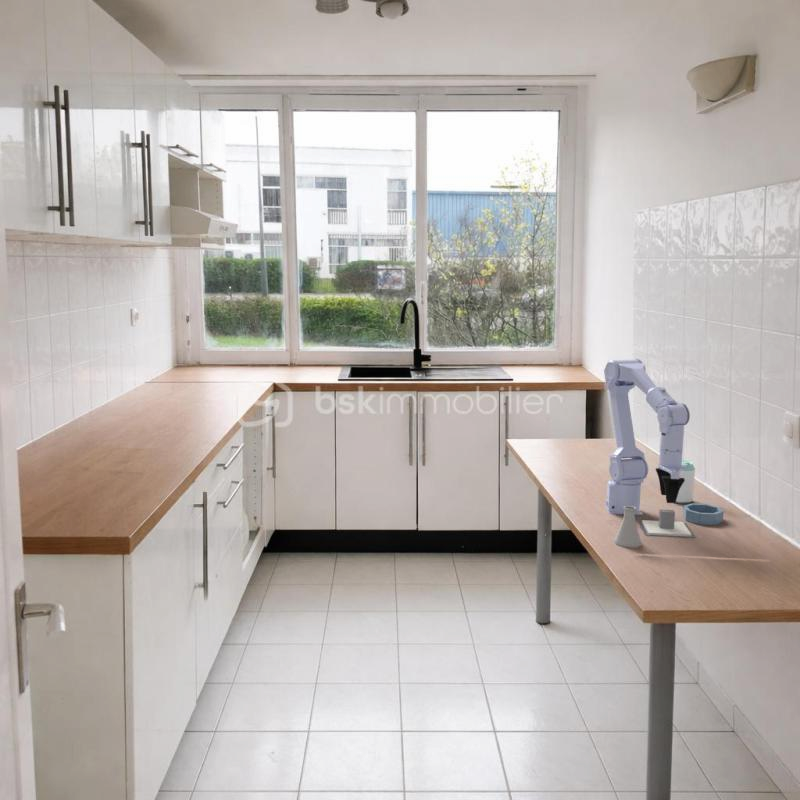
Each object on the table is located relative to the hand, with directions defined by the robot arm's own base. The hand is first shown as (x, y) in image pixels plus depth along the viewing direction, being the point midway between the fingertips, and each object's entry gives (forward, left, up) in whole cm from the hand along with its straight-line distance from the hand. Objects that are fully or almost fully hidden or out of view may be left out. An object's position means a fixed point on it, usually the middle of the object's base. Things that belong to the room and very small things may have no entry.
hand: (668, 498), depth 239 cm
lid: (0, 0, -8) cm, 9 cm away
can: (+10, +31, -9) cm, 34 cm away
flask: (-12, -13, -9) cm, 20 cm away
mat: (0, 0, -9) cm, 9 cm away
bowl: (+12, +11, -9) cm, 19 cm away
